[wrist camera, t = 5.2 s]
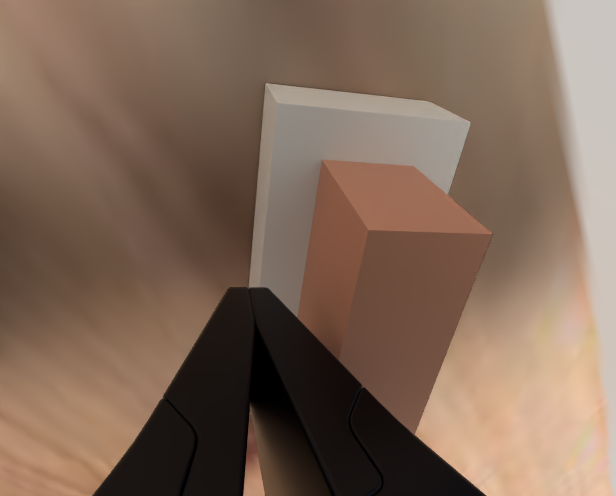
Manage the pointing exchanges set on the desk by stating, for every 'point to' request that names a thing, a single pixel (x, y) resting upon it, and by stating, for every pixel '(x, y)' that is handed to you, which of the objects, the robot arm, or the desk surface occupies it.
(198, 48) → the desk surface
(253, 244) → the stub
